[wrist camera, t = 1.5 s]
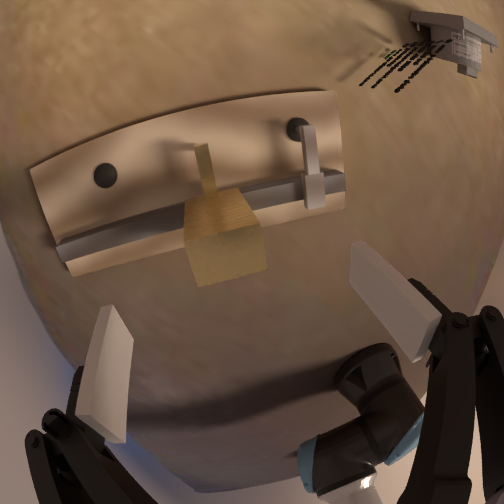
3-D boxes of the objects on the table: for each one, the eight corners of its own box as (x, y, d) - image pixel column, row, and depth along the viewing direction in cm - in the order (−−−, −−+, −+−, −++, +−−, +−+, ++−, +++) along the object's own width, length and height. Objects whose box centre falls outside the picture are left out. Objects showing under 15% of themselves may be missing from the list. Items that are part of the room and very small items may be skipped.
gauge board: (339, 204, 33) (358, 217, 29) (76, 270, 29) (64, 291, 25) (329, 91, 26) (350, 89, 22) (35, 166, 22) (15, 176, 18)
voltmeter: (428, -2, 19) (474, -10, 11) (463, 56, 24) (508, 59, 16) (328, 73, 25) (382, 64, 16) (381, 144, 30) (437, 161, 22)
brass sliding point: (240, 215, 28) (267, 269, 19) (193, 227, 28) (198, 287, 19) (225, 136, 24) (247, 148, 15) (173, 148, 24) (162, 168, 15)
